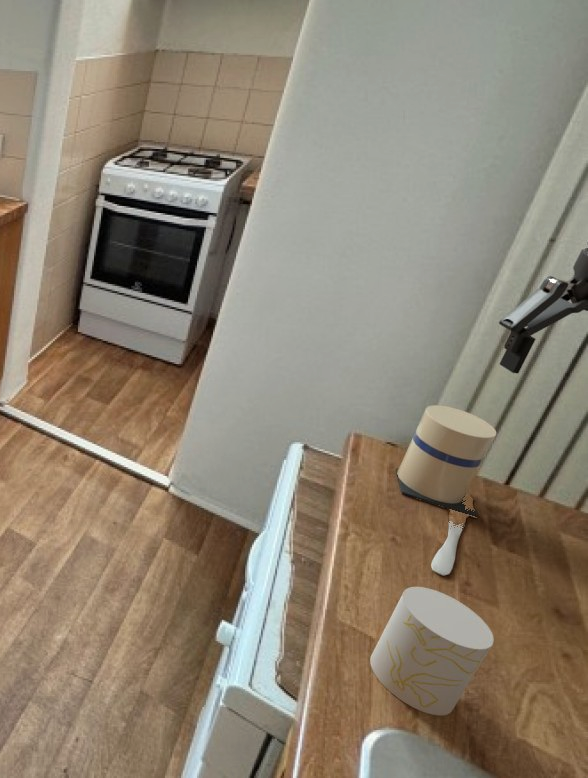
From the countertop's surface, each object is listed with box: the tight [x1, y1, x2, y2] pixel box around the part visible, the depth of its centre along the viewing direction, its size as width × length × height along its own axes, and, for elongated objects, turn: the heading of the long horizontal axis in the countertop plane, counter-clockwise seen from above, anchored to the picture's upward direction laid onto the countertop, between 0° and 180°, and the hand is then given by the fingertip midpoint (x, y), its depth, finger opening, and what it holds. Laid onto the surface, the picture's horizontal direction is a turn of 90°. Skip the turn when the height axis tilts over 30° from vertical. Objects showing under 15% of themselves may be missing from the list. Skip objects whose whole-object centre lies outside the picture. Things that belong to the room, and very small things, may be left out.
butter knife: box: [430, 521, 464, 577], centre depth 101 cm, size 1×27×3 cm
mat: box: [395, 467, 479, 518], centre depth 109 cm, size 10×8×1 cm
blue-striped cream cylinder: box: [396, 404, 497, 503], centre depth 108 cm, size 14×9×9 cm
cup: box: [369, 586, 495, 716], centre depth 75 cm, size 8×8×12 cm
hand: (557, 374), depth 98 cm, fingers open, 13 cm apart
